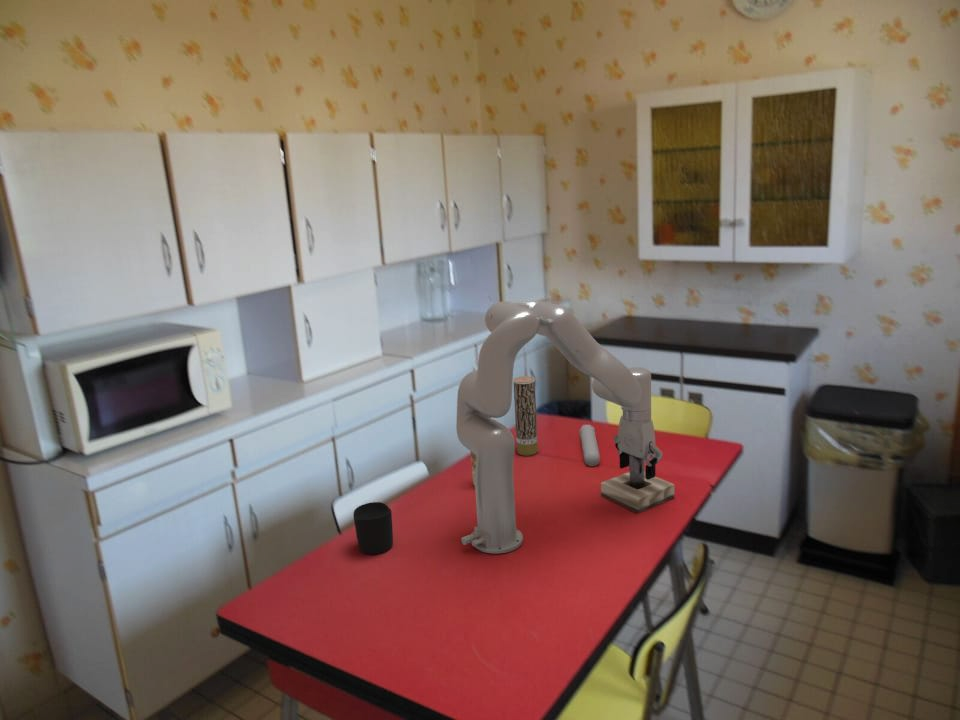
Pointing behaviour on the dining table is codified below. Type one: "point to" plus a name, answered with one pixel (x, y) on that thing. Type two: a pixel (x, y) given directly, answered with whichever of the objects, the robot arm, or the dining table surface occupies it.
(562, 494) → the dining table surface
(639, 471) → the steel peg
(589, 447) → the tube
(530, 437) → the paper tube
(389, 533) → the pen holder
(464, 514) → the dining table surface
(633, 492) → the socket block
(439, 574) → the dining table surface
